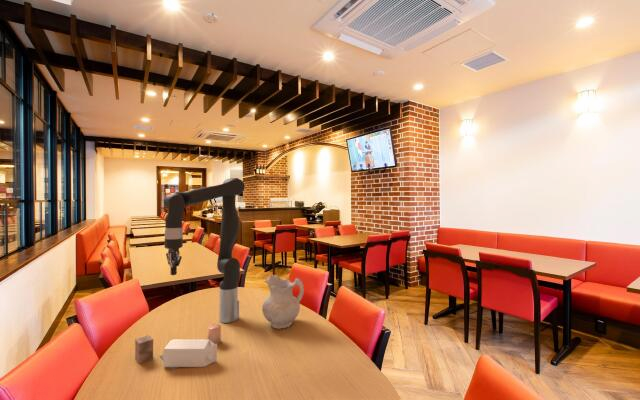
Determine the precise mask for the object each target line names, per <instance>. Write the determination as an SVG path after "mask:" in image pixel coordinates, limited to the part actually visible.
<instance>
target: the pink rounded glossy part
mask: <svg viewBox="0 0 640 400" xmlns="http://www.w3.org/2000/svg"><path fill="white" fill-rule="evenodd" d="M221 327H222V325H221V324H219V323H218V324H216V323H215V324H210V325H209V326H207V340H211V341H212V342H213V343H214V344H217V346H218V345H220V344H221V343H222V333H221V331H222V328H221Z"/></svg>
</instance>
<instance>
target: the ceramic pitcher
mask: <svg viewBox="0 0 640 400" xmlns="http://www.w3.org/2000/svg"><path fill="white" fill-rule="evenodd" d="M264 282H265V283H266V284H267V285H268V288H269V292H270V294H269V296H268V297H267V298H265V299H264V301H263V303H262V310H261V311H262V314H263V316H264V319H265V320H267V321H268V322H269V323H270V324H269V326H270V327H271V328H273V329H275V328H276V330H281V328H283V329H287V328H286V327H288V328H290V327H289V326H290V325H291V324H292V323H293V321H295V320H296V319H297V317H298V316H299V314H300V313H299V312H300V308H301V303H300V302H301V301H302V298H303V296H304V293H305V292H304V291H305V290H304V287H305V286H304V284H303V281H302V279H301V278H300V277H296V278H294V281H293V282H291V281H290V280H289V279H288V278H280V276H279V275H275V274H271V275H269V276H268V277H267V278H266V279H265V280H264ZM297 286H298V287H299V292H298V295H297V297H296V296H294V295H293V289H294V287H297Z"/></svg>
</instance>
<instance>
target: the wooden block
mask: <svg viewBox="0 0 640 400" xmlns="http://www.w3.org/2000/svg"><path fill="white" fill-rule="evenodd" d="M134 342H135V344H134V346H135V347H134V351H135V352H134V354H135V355H134V358H135V361H136V363H138V365H140V364H143V363H146V362H149V361H152V360H153V359H154V339H153V338H152V336H151V335H149V334H148V335H146V336H142V337H138V338H135V341H134Z"/></svg>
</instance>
